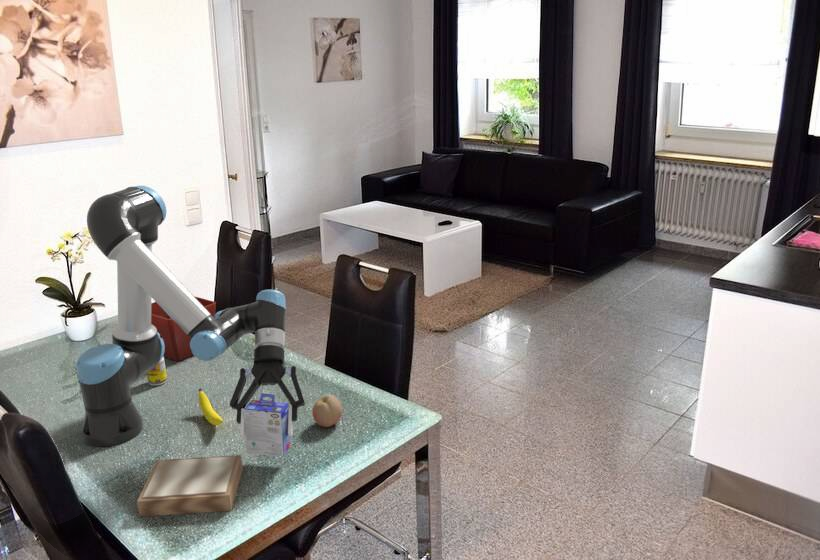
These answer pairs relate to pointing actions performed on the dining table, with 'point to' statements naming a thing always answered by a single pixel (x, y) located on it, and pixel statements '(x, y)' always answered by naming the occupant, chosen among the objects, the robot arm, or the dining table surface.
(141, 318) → the robot arm
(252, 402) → the ink cartridge box
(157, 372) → the supplement bottle
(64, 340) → the dining table surface
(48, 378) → the dining table surface
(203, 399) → the banana
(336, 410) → the fruit
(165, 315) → the plant pot
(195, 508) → the wooden box
